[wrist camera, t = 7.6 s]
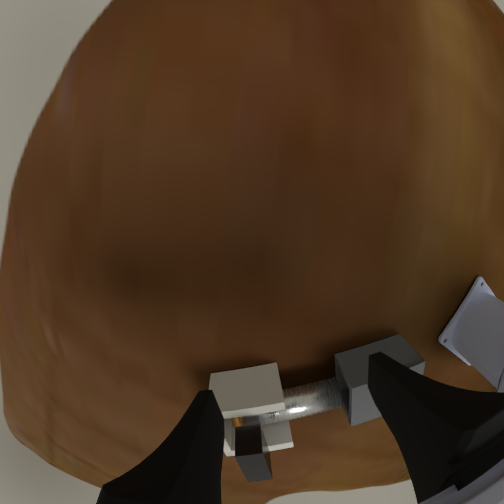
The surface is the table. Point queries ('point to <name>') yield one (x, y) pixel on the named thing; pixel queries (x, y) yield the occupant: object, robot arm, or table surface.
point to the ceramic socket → (251, 402)
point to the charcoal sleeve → (356, 374)
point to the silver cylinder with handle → (296, 406)
